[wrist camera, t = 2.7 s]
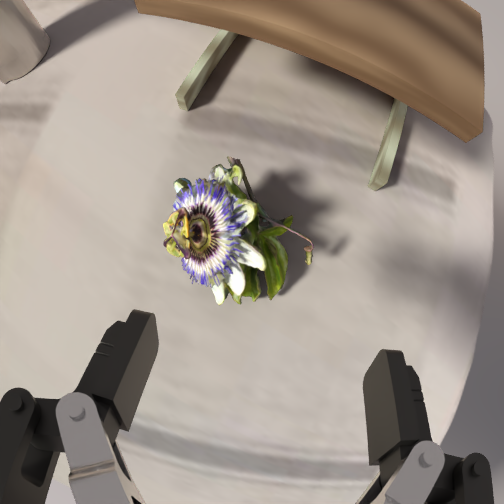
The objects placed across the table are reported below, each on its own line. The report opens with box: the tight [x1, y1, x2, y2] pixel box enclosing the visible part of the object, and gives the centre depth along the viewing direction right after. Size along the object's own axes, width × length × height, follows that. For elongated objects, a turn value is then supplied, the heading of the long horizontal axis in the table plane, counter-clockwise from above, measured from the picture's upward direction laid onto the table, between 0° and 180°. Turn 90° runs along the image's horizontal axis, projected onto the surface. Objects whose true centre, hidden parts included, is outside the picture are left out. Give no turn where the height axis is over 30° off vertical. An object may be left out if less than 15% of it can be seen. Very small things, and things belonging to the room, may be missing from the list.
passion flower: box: [163, 157, 314, 305], centre depth 28 cm, size 11×11×12 cm
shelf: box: [134, 0, 484, 191], centre depth 25 cm, size 16×25×17 cm, turn 66°
